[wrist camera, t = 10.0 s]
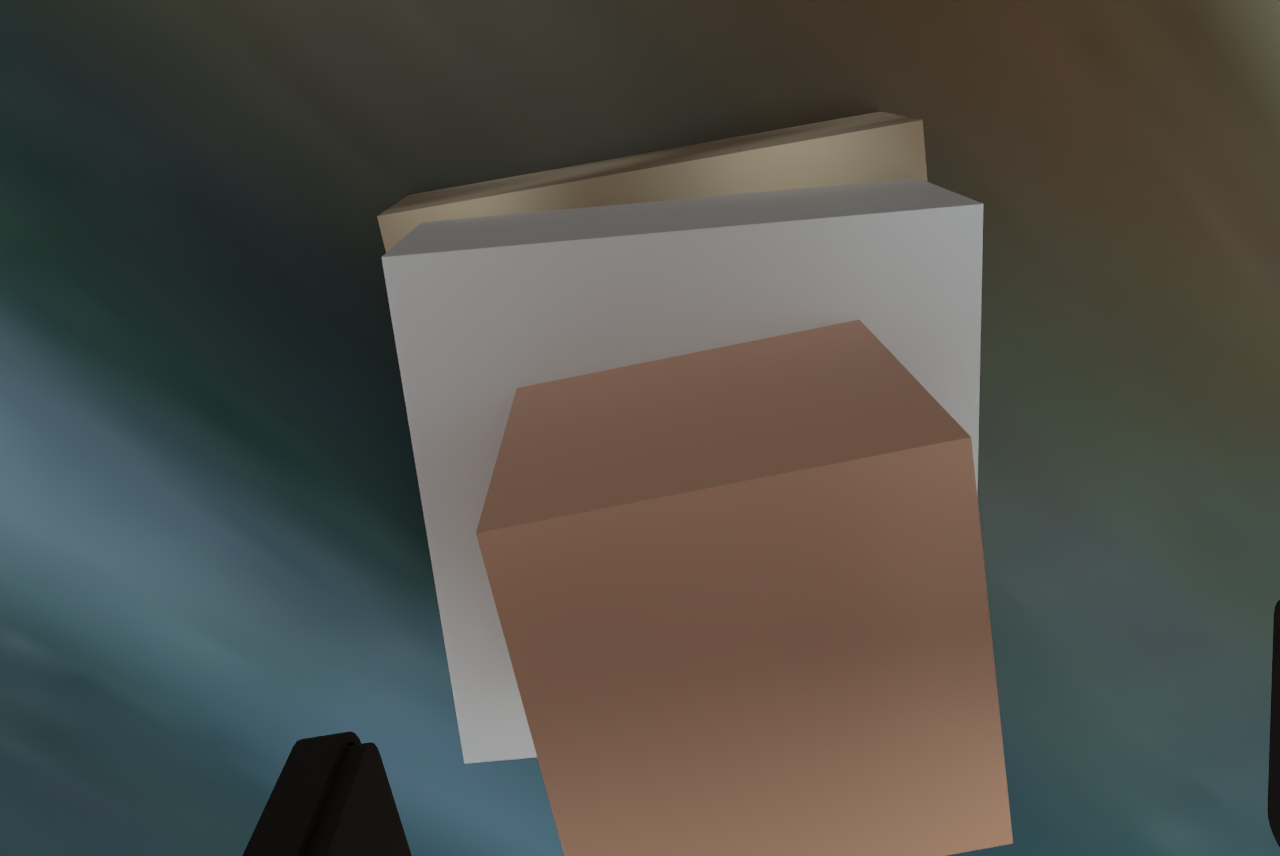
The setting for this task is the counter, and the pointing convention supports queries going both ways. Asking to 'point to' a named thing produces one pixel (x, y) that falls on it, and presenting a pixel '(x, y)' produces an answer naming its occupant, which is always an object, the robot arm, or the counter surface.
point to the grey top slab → (646, 342)
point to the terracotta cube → (750, 605)
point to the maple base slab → (689, 172)
